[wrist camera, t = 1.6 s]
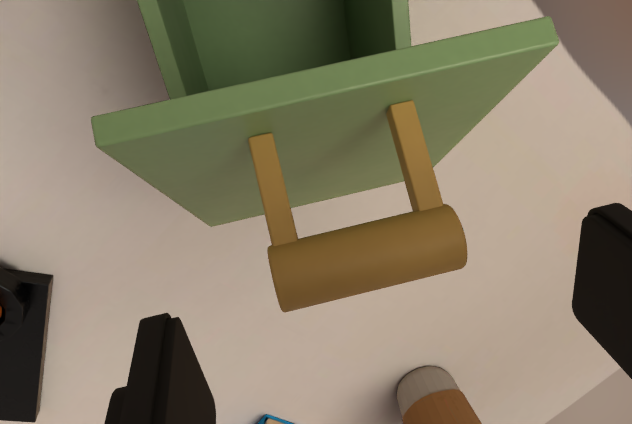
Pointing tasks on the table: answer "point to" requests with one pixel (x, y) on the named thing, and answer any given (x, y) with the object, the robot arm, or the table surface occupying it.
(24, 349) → the button housing
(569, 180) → the table surface
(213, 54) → the chest
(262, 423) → the book
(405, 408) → the coffee cup
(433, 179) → the lid
